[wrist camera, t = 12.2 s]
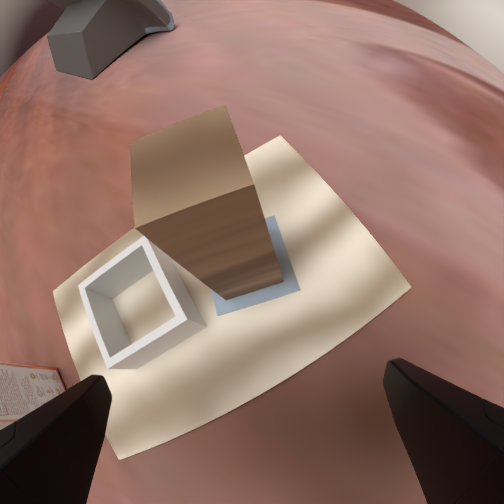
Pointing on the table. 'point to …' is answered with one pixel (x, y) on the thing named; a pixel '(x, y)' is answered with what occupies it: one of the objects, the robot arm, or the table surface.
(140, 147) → the walnut block
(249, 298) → the board
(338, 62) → the table surface
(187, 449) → the table surface
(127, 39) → the touchscreen device
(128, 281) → the sleeve
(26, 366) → the cracker box
